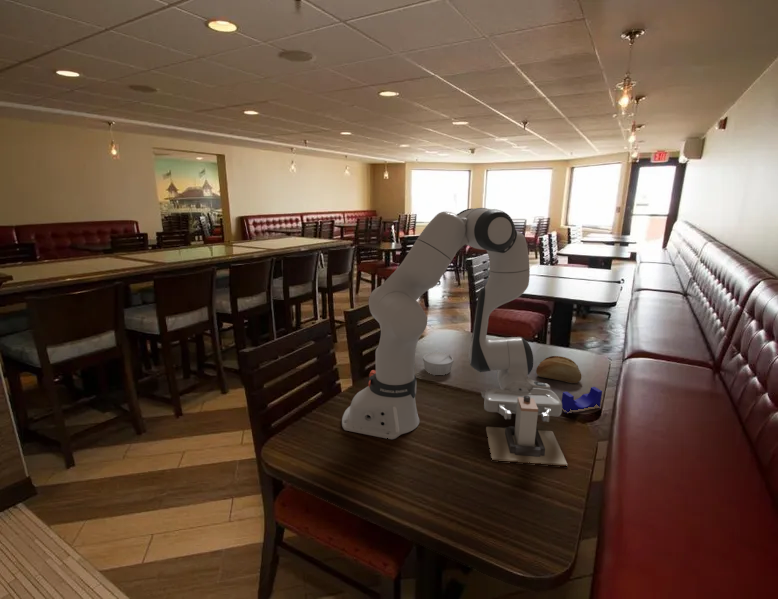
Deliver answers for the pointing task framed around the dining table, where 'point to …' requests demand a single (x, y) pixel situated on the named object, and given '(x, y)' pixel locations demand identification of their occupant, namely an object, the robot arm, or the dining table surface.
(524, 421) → the white and orange block
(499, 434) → the board
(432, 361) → the ramekin
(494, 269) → the robot arm
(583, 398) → the cable clip
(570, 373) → the bread roll
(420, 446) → the dining table surface
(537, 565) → the dining table surface
